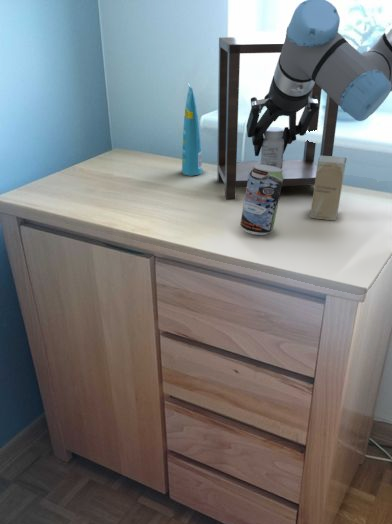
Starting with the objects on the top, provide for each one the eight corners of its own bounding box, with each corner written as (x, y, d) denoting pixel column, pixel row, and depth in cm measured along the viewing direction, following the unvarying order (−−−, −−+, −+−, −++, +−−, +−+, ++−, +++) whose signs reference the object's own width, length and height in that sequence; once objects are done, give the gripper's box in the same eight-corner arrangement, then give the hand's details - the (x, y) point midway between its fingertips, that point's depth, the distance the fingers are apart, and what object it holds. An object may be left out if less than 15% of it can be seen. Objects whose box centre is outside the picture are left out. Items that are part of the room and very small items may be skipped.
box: (309, 218, 109) (315, 160, 103) (312, 210, 112) (318, 154, 106) (336, 221, 107) (345, 162, 101) (339, 213, 111) (347, 156, 105)
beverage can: (233, 231, 103) (235, 166, 97) (261, 222, 107) (265, 158, 100) (257, 242, 99) (261, 174, 93) (285, 231, 103) (291, 166, 96)
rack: (327, 195, 120) (346, 42, 104) (226, 200, 118) (229, 44, 102) (309, 176, 131) (324, 35, 115) (217, 180, 130) (219, 37, 113)
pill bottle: (270, 165, 125) (273, 125, 120) (286, 169, 122) (290, 129, 117) (255, 169, 123) (257, 129, 118) (271, 174, 120) (274, 133, 115)
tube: (179, 169, 137) (177, 83, 126) (199, 168, 138) (198, 82, 127) (185, 178, 131) (183, 89, 120) (205, 176, 132) (205, 88, 121)
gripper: (246, 100, 99) (230, 167, 122) (344, 97, 101) (309, 164, 124) (243, 63, 101) (227, 136, 124) (339, 61, 102) (305, 133, 125)
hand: (268, 149), depth 124 cm, fingers open, 5 cm apart
